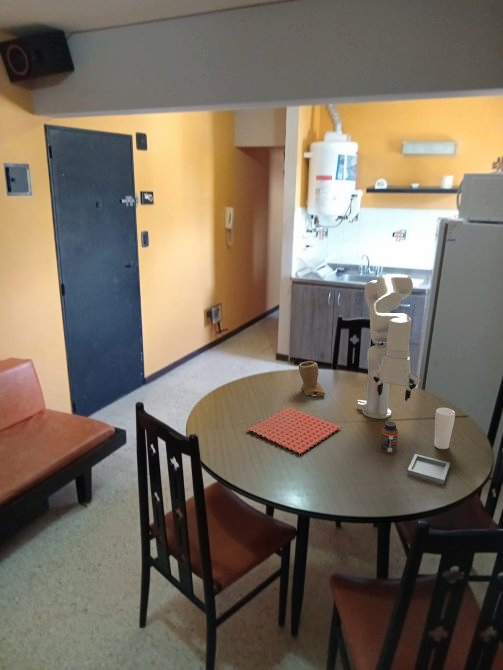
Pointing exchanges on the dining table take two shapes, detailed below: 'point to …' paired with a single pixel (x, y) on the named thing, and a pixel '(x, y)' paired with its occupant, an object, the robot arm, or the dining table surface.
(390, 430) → the supplement bottle
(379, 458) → the dining table surface
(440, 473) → the tray
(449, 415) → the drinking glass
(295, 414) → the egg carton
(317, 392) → the tan boot-shaped piece
